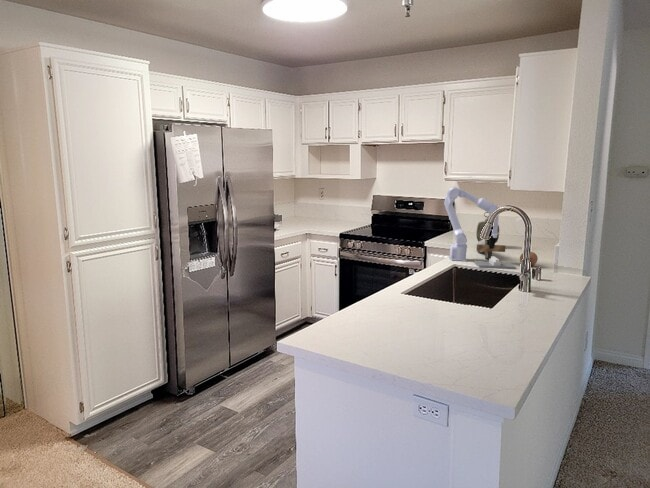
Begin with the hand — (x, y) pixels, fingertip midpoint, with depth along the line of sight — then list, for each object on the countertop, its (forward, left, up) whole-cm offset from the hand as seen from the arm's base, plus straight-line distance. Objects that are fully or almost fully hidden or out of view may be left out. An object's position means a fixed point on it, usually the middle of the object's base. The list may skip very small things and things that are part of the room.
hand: (490, 248), depth 280 cm
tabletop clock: (+11, +52, -9) cm, 54 cm away
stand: (0, -11, -8) cm, 14 cm away
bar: (0, 0, -2) cm, 2 cm away
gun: (+2, +19, -9) cm, 21 cm away
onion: (+20, -7, -9) cm, 23 cm away
